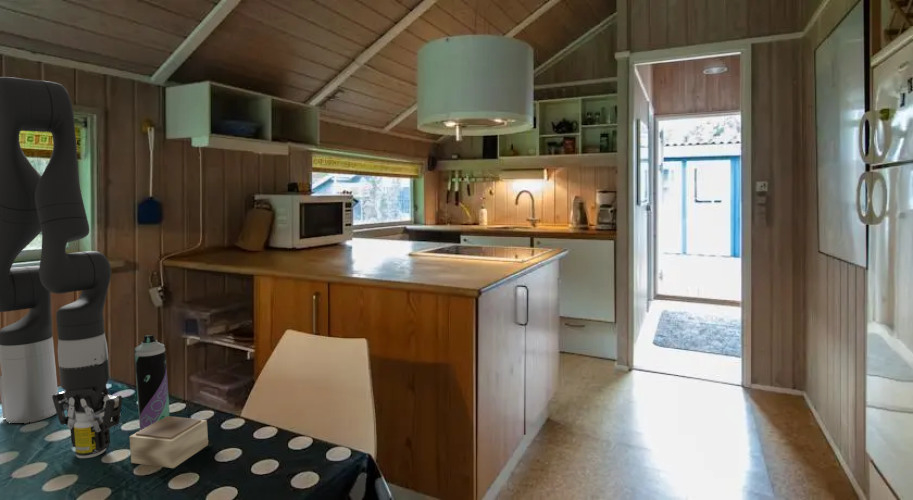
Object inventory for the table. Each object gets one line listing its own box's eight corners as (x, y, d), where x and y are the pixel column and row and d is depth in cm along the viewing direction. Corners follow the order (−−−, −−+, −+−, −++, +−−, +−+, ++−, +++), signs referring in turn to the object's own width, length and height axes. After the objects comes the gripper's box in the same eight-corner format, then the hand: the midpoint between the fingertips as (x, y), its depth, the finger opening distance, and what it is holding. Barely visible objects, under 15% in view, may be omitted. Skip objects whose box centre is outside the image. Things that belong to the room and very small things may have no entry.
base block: (131, 462, 96) (129, 434, 95) (168, 440, 104) (167, 414, 104) (173, 468, 94) (171, 439, 93) (208, 444, 102) (206, 418, 102)
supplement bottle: (95, 459, 97) (91, 415, 96) (69, 459, 97) (65, 415, 96) (112, 446, 102) (109, 404, 101) (88, 446, 102) (84, 404, 101)
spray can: (147, 437, 105) (140, 340, 103) (135, 430, 109) (128, 336, 107) (175, 428, 110) (169, 334, 108) (163, 421, 113) (156, 330, 111)
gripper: (32, 363, 96) (41, 452, 97) (97, 368, 92) (105, 461, 94) (71, 351, 103) (79, 434, 105) (132, 355, 100) (139, 442, 101)
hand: (91, 446), depth 99 cm, fingers closed on supplement bottle, 4 cm apart
